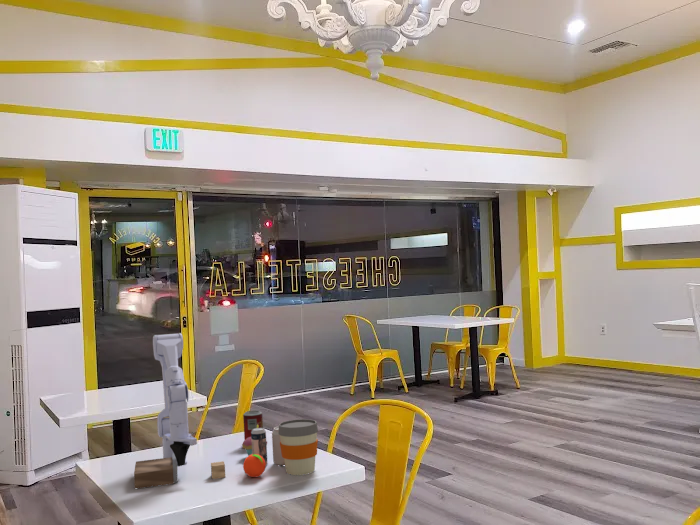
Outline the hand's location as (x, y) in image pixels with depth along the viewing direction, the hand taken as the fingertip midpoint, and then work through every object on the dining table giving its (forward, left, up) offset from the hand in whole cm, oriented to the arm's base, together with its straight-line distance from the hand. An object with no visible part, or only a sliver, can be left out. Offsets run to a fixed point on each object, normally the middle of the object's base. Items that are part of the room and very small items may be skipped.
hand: (181, 465), depth 211 cm
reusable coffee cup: (+12, +36, -4) cm, 38 cm away
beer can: (0, +25, -4) cm, 25 cm away
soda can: (-30, +27, -4) cm, 40 cm away
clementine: (+12, +22, -4) cm, 25 cm away
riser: (+6, +11, -3) cm, 13 cm away
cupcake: (-12, +25, -4) cm, 28 cm away
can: (+1, +33, -4) cm, 33 cm away
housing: (0, -8, -3) cm, 9 cm away
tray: (0, -7, -3) cm, 8 cm away
